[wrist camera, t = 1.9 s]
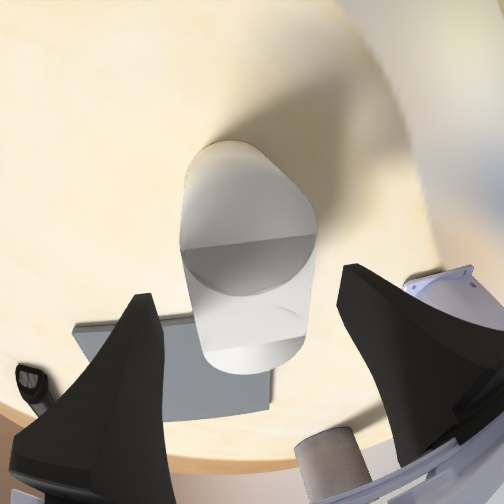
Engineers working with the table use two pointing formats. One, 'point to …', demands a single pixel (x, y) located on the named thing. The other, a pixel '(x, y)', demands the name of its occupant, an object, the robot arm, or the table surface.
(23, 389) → the electric trimmer
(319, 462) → the pillar candle
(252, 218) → the block
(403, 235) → the table surface
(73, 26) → the table surface
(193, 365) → the slate mat
